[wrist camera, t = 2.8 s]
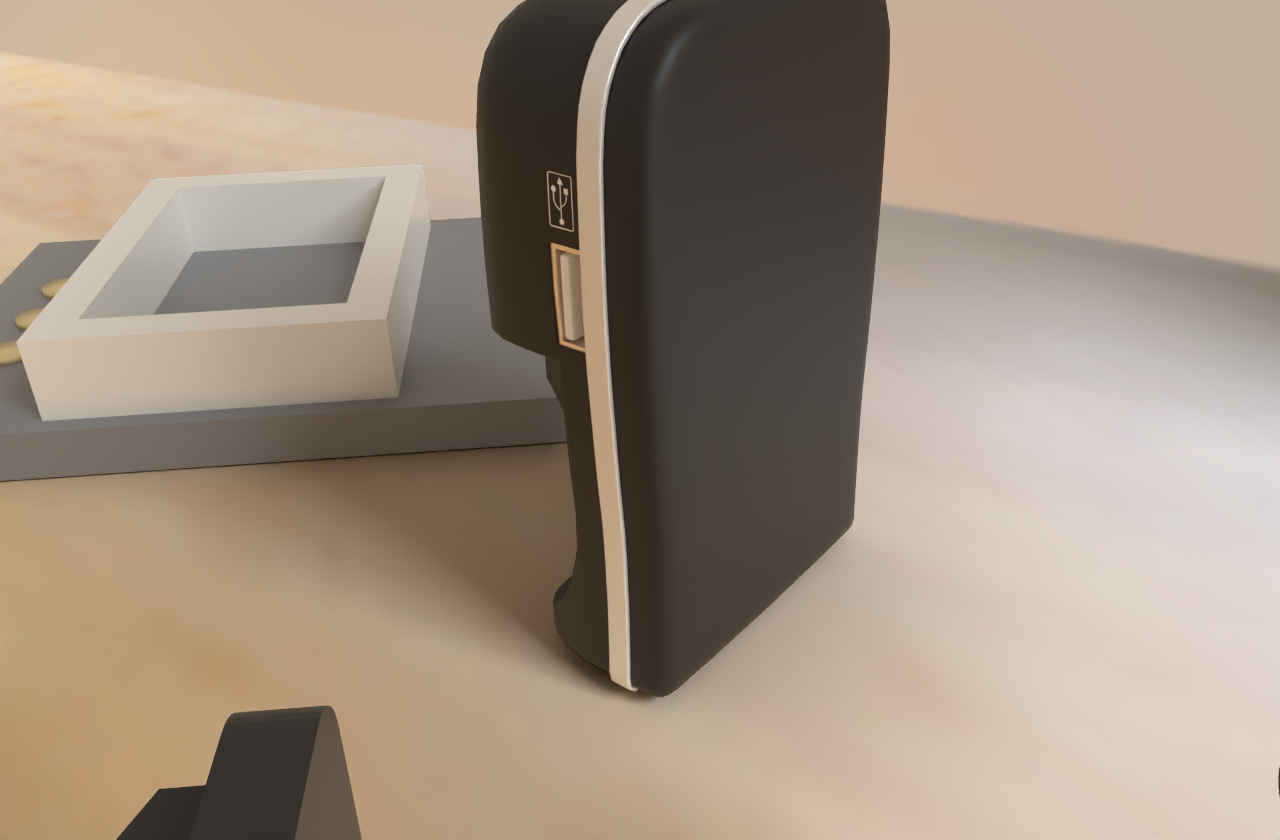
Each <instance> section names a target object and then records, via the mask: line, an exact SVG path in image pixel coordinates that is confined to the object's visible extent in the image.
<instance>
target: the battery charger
mask: <svg viewBox="0 0 1280 840" xmlns="http://www.w3.org/2000/svg"><path fill="white" fill-rule="evenodd" d="M889 60H890V28H889V20H888V13H887V6H886V0H526V1H524V2H523V3H521V4H519V5H518V6H517V7H516V8H515V9H514V10H513V11H512V12H511V13H510V14H509V15H508V16H507V17H506V18H505V19H504V20H503V21H502V22H501V23H500V24H499V26H498V28H497V30H496V32H495V34H494V35H493V37H492V39H491V41H490V44H489V45H488V47H487V49H486V51H485V55H484V59H483V64H482V69H481V73H480V78H479V82H478V94H477V123H476V128H477V150H478V171H479V188H480V204H481V220H482V233H483V246H484V258H485V269H486V278H487V287H488V297H489V306H490V315H491V323H492V329H493V330H494V331H495V332H496V333H497V334H498V335H499V336H500V337H501V338H502V339H504V340H506V341H508V342H510V343H513V344H515V345H517V346H519V347H521V348H524V349H526V350H529V351H532V352H534V353H537V354H540V355H543V356H545V363H546V375H547V379H548V381H549V383H550V385H551V387H552V389H553V391H554V393H555V395H556V397H557V399H558V401H559V403H560V405H561V408H562V410H563V412H564V419H565V428H566V437H567V445H568V455H569V463H570V471H571V479H572V486H573V494H574V502H575V510H576V529H577V553H576V561H575V565H574V570H573V574H572V576H571V577H570V578H569V579H568V580H567V581H566V582H565V583H564V584H563V585H562V586H561V587H560V588H559V589H558V590H557V592H556V593H555V596H554V600H553V602H554V621H555V624H556V627H557V630H558V633H559V634H560V636H561V637H562V639H563V640H564V641H565V643H566V644H567V645H568V646H569V647H570V648H572V649H573V650H574V651H575V652H577V653H578V654H579V655H580V656H581V657H582V658H583V659H584V660H586V661H587V662H589V663H591V664H593V665H595V666H597V667H599V668H600V669H602V670H604V671H606V672H608V673H610V676H611V680H612V681H614V682H616V683H618V684H619V685H621V686H623V687H625V688H627V689H629V690H631V691H634V692H635V691H637V690H639V689H640V690H641V691H643V692H645V693H648V694H650V695H653V696H656V697H663V696H666V695H669V694H671V693H672V692H674V691H675V690H676V689H678V688H679V687H680V686H681V685H682V684H683V683H684V682H686V681H687V680H688V679H689V678H690V677H691V676H692V675H693V674H695V673H696V672H697V671H698V670H699V669H700V668H701V667H702V666H704V665H705V664H706V663H707V662H708V661H709V660H710V659H711V658H713V657H714V656H715V655H716V654H717V653H718V652H719V651H720V650H721V649H723V648H724V647H725V646H726V645H727V644H728V643H729V642H730V641H731V640H732V639H733V638H735V637H736V636H737V635H738V634H739V633H740V632H741V631H742V630H743V629H744V628H745V627H747V626H748V625H749V624H750V623H751V622H752V621H753V620H754V619H755V618H756V617H758V616H759V615H760V614H761V613H762V612H763V611H764V610H765V609H766V608H767V607H768V606H770V605H771V604H772V603H773V602H774V601H775V600H776V599H777V598H778V597H779V596H780V595H781V594H782V593H783V592H784V591H785V590H786V589H787V588H788V587H789V586H791V585H792V584H793V583H794V582H795V581H796V580H797V579H798V578H799V577H800V576H801V575H802V574H803V573H804V572H805V571H806V570H807V569H808V568H809V567H810V566H812V565H813V564H814V563H815V562H816V561H817V560H818V559H819V558H820V557H821V556H822V555H823V554H824V553H825V552H826V551H827V550H828V549H829V548H830V547H831V546H832V545H833V544H834V543H835V542H836V541H837V540H838V539H839V538H840V537H841V536H842V535H843V534H844V533H845V532H846V531H847V530H848V529H849V528H850V526H851V525H852V522H853V519H854V503H855V487H856V471H857V456H858V441H859V425H860V413H861V401H862V389H863V380H864V370H865V361H866V352H867V343H868V333H869V323H870V313H871V303H872V292H873V282H874V271H875V261H876V250H877V239H878V227H879V215H880V203H881V191H882V177H883V162H884V148H885V132H886V116H887V99H888V82H889V64H890V61H889Z"/></svg>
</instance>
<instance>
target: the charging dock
mask: <svg viewBox="0 0 1280 840" xmlns="http://www.w3.org/2000/svg"><path fill="white" fill-rule="evenodd" d="M556 442H567V437H566V428H565V419H564V412H563V410H562V408H561V405H560V403H559V401H558V399H557V397H556V395H555V393H554V391H553V389H552V387H551V385H550V383H549V381H548V379H547V375H546V363H545V356H543V355H540V354H537V353H534V352H532V351H529V350H526V349H524V348H521V347H519V346H517V345H515V344H513V343H510V342H508V341H506V340H504V339H502V338H501V337H500V336H499V335H498V334H497V333H496V332H495V331H494V330H493V329H492V323H491V315H490V306H489V297H488V287H487V278H486V269H485V258H484V246H483V233H482V220H481V218H465V219H448V220H431V221H430V216H429V208H428V200H427V192H426V184H425V176H424V168H423V164H405V165H387V166H369V167H351V168H333V169H314V170H296V171H278V172H260V173H242V174H224V175H206V176H188V177H170V178H153V179H152V180H151V181H150V182H149V184H148V185H147V186H146V187H145V188H144V190H143V191H142V192H141V193H140V194H139V196H138V197H137V198H136V199H135V200H134V201H133V203H132V204H131V205H130V206H129V207H128V209H127V210H126V211H125V212H124V213H123V215H122V216H121V217H120V218H119V219H118V221H117V222H116V223H115V224H114V225H113V227H112V228H111V229H110V230H109V231H108V233H107V234H106V235H105V236H104V237H103V239H102V240H87V241H70V242H53V243H40V244H39V245H38V246H37V247H36V248H35V249H34V250H33V251H32V252H31V253H30V254H29V256H28V257H27V258H26V259H25V260H24V261H23V262H22V263H21V264H20V265H19V266H18V267H17V268H16V269H15V270H14V271H13V272H12V273H11V274H10V276H9V277H8V278H7V279H6V280H5V281H4V282H3V283H2V284H1V285H0V481H8V480H22V479H36V478H51V477H65V476H80V475H94V474H109V473H123V472H137V471H152V470H166V469H181V468H195V467H210V466H224V465H238V464H253V463H267V462H282V461H296V460H310V459H325V458H339V457H354V456H368V455H383V454H397V453H411V452H426V451H440V450H455V449H469V448H484V447H498V446H512V445H527V444H541V443H556Z"/></svg>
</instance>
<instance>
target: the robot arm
mask: <svg viewBox="0 0 1280 840" xmlns="http://www.w3.org/2000/svg"><path fill="white" fill-rule="evenodd" d="M1278 778H1279V795H1280V768H1279V777H1278ZM116 840H362V839H361V833H360V829H359V824H358V819H357V814H356V809H355V804H354V799H353V794H352V789H351V785H350V780H349V775H348V770H347V765H346V760H345V755H344V750H343V745H342V740H341V736H340V731H339V726H338V722H337V718H336V715H335V712H334V710H333V709H332V707H331V706H316V707H304V708H291V709H278V710H265V711H252V712H239V713H233V714H231V715H230V717H229V718H228V719H227V721H226V723H225V725H224V728H223V731H222V734H221V737H220V740H219V743H218V747H217V750H216V753H215V756H214V760H213V763H212V766H211V769H210V773H209V776H208V779H207V783H206V785H203V786H191V787H179V788H166V789H159V790H158V791H157V792H156V793H155V794H154V796H153V797H152V798H151V799H150V800H149V802H148V803H147V804H146V805H145V806H144V807H143V809H142V810H141V811H140V812H139V813H138V815H137V816H136V817H135V818H134V819H133V820H132V822H131V823H130V824H129V825H128V826H127V827H126V829H125V830H124V831H123V832H122V833H121V835H120V836H119V837H118V838H117V839H116Z"/></svg>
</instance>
